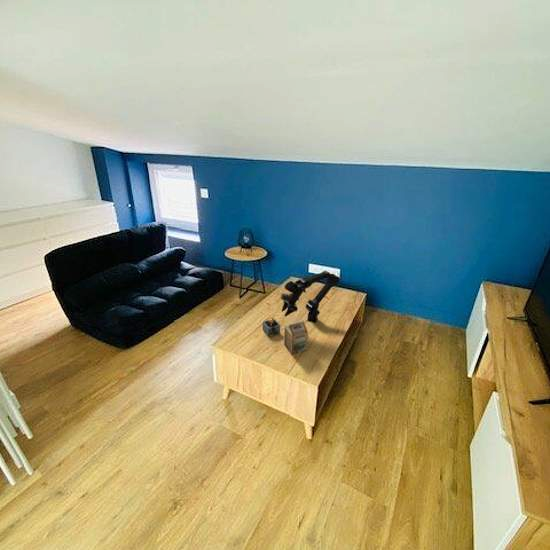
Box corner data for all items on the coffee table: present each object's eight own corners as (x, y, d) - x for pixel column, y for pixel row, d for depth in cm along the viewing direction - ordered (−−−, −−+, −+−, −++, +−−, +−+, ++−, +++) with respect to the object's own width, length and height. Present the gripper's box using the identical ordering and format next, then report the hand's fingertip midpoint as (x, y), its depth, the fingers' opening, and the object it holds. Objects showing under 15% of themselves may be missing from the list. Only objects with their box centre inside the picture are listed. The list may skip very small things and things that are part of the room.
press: (274, 326, 208) (274, 318, 205) (281, 335, 199) (281, 326, 196) (262, 329, 204) (262, 321, 201) (269, 338, 195) (269, 330, 192)
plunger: (273, 326, 206) (273, 315, 202) (277, 331, 201) (277, 320, 197) (264, 329, 203) (264, 318, 200) (269, 334, 198) (269, 323, 194)
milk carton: (291, 354, 180) (292, 329, 172) (284, 344, 189) (284, 319, 181) (306, 350, 184) (308, 325, 176) (298, 341, 193) (300, 316, 185)
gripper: (283, 285, 207) (271, 303, 208) (289, 293, 189) (276, 313, 191) (296, 293, 210) (284, 311, 212) (303, 301, 192) (290, 320, 194)
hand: (283, 313), depth 202 cm, fingers open, 9 cm apart
